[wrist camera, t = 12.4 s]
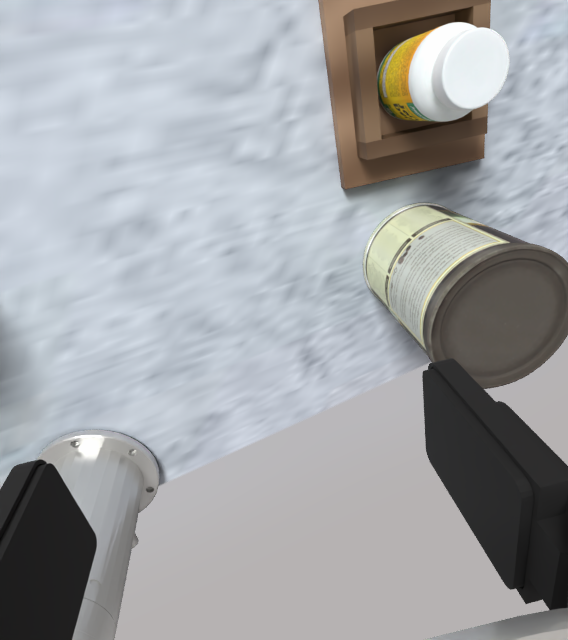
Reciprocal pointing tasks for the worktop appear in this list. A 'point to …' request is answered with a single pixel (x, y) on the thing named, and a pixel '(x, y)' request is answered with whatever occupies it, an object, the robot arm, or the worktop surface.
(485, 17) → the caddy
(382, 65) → the supplement bottle
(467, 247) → the coffee can
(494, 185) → the worktop surface
